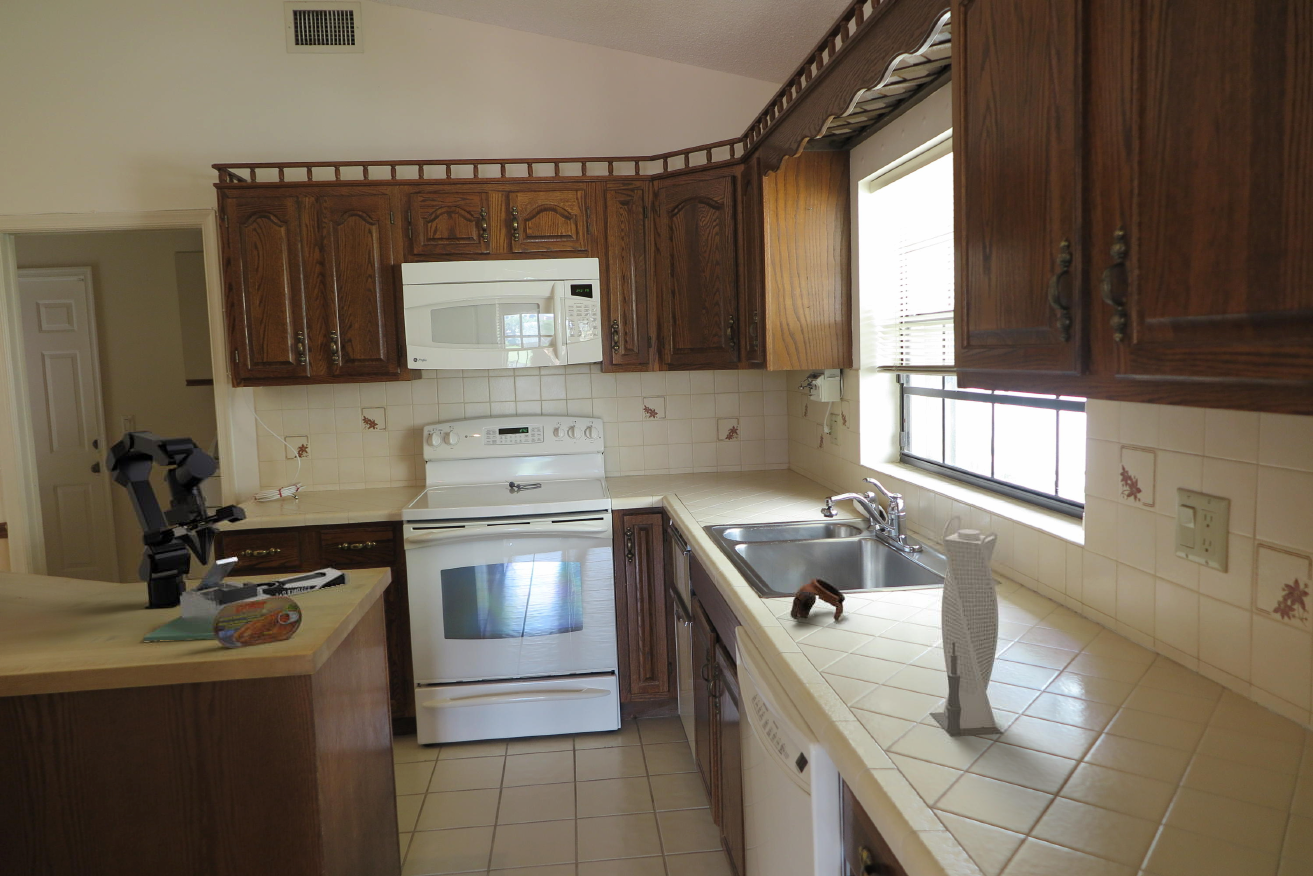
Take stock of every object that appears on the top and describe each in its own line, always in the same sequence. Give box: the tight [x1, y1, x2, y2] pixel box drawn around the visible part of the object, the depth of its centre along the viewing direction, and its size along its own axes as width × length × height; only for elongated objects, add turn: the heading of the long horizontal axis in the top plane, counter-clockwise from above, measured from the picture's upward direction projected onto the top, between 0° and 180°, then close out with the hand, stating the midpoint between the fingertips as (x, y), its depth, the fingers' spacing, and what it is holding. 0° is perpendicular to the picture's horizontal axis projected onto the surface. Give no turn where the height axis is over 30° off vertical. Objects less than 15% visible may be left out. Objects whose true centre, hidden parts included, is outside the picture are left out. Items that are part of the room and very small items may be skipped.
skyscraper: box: [929, 515, 1004, 737], centre depth 110 cm, size 8×8×28 cm
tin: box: [213, 596, 303, 649], centre depth 154 cm, size 15×3×8 cm, turn 117°
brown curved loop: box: [790, 577, 846, 621], centre depth 158 cm, size 12×10×8 cm
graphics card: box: [255, 567, 350, 597], centre depth 191 cm, size 10×3×25 cm
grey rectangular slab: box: [195, 556, 239, 592], centre depth 167 cm, size 12×4×1 cm
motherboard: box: [143, 615, 217, 642], centre depth 167 cm, size 20×20×1 cm
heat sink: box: [180, 580, 266, 631], centre depth 166 cm, size 15×10×8 cm, turn 53°
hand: (205, 565), depth 170 cm, fingers closed
